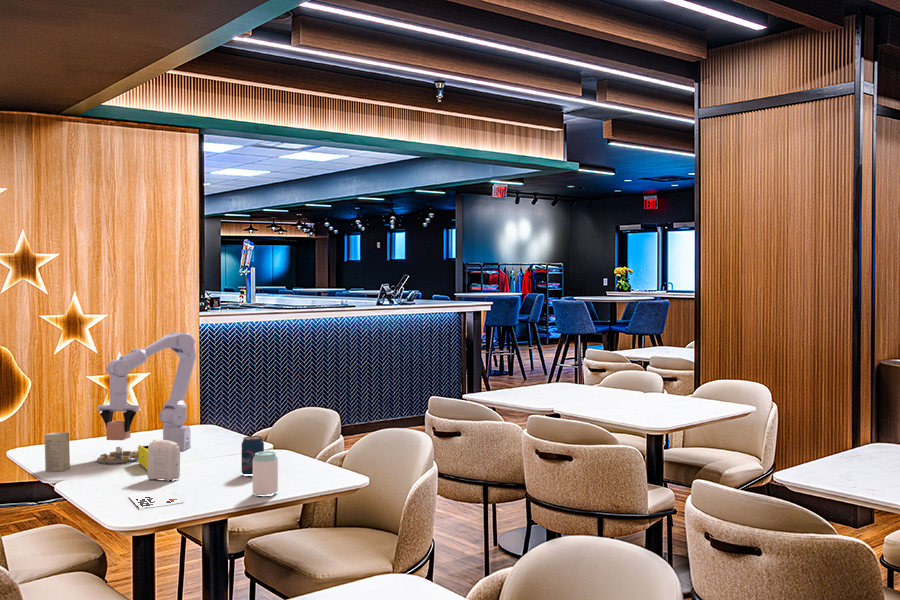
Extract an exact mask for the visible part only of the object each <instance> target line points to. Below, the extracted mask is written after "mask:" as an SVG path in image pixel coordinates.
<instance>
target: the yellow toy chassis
mask: <svg viewBox="0 0 900 600" xmlns="http://www.w3.org/2000/svg"><path fill="white" fill-rule="evenodd" d="M153 441H157V440H156V439H153V440H152V442H153ZM148 446H149V445H141V444H138V447H137V450H138V461H137V463H139V464H140V466H141V467H143V469H146V470H147V471H148Z"/></svg>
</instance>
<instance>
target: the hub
mask: <svg viewBox="0 0 900 600" xmlns="http://www.w3.org/2000/svg"><path fill="white" fill-rule="evenodd" d="M131 452H132V451H131V450H123V446H116V447H115V451H109V454H107V453H102V454H100V455H99V457H98V458H97V459H96V462H98V463H97V464H100V465H122V463H124V464H130V463H129V462H131V463H134V462H133V461H135V462H138V461H137V460H138V452H133V453H131Z"/></svg>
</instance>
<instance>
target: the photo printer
mask: <svg viewBox="0 0 900 600" xmlns="http://www.w3.org/2000/svg"><path fill="white" fill-rule="evenodd" d="M147 446H148V470H147V479H148V478H150V479H149V480H153V479H164V480H173V479H178V478H179V477H181V473H180V471H181V469H180V468H181V465H180V464H181V451H180V447H179V445H178V444H177V443H175V442H173V441H169V440H163V439H159V440H156V441H153V440H152V441H151V442H149V444H148V445H147ZM179 479H180V478H179ZM164 480H163V481H164Z"/></svg>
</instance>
